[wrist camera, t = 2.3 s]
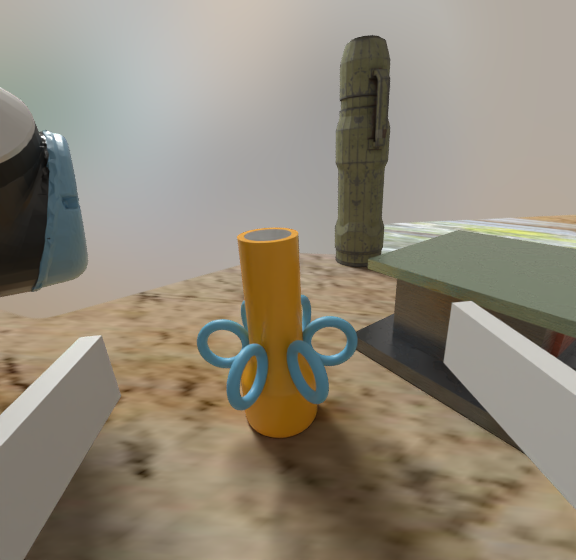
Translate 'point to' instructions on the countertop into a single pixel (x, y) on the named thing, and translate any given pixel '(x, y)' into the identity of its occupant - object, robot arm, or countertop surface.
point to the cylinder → (275, 339)
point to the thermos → (362, 149)
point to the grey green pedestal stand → (482, 291)
